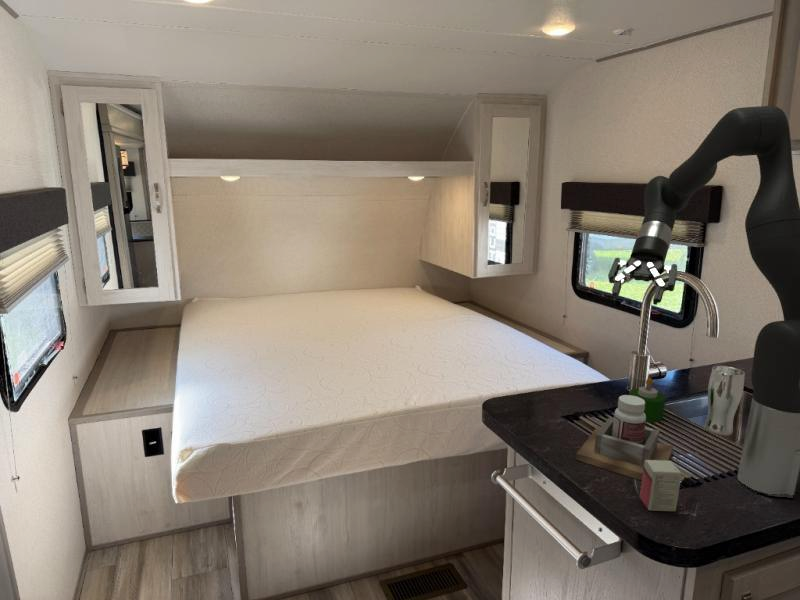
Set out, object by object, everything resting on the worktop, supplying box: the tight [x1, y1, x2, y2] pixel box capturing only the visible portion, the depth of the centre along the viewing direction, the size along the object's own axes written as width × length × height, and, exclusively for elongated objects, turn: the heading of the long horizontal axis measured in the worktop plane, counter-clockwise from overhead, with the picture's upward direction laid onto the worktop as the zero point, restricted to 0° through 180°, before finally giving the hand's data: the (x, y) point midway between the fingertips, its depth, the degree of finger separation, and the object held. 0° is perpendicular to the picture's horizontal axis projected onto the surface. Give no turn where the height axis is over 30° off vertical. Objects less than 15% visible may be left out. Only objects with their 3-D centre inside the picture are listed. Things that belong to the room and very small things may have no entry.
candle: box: [628, 377, 667, 423], centre depth 139 cm, size 8×8×10 cm
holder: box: [575, 417, 674, 481], centre depth 118 cm, size 16×16×6 cm
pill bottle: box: [612, 394, 647, 445], centre depth 118 cm, size 6×6×11 cm
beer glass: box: [703, 365, 746, 437], centre depth 131 cm, size 7×7×15 cm
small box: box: [639, 460, 683, 512], centre depth 101 cm, size 5×4×8 cm
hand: (634, 299), depth 127 cm, fingers open, 8 cm apart
